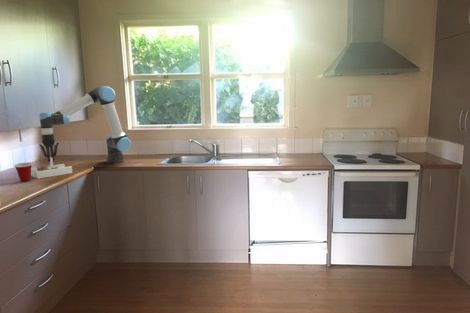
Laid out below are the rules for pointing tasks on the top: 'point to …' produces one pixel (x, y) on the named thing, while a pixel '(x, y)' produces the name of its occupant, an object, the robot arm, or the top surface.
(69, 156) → the top surface
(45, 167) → the walnut block
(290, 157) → the top surface
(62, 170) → the box
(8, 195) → the top surface
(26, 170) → the plastic cup
